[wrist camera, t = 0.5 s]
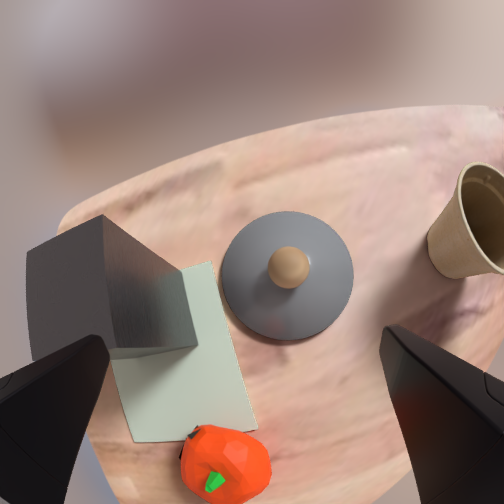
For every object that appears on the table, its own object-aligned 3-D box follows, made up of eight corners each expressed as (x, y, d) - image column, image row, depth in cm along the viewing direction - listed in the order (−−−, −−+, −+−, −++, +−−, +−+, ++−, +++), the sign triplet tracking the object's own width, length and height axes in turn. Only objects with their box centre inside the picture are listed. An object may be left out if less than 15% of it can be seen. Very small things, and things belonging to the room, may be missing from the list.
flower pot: (471, 310, 19) (530, 294, 11) (401, 273, 21) (451, 240, 13) (484, 231, 21) (530, 196, 13) (421, 192, 24) (459, 142, 15)
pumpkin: (198, 480, 18) (167, 514, 12) (191, 411, 20) (152, 437, 14) (274, 490, 16) (260, 533, 10) (275, 418, 18) (260, 456, 12)
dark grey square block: (198, 344, 21) (116, 347, 10) (133, 358, 21) (32, 360, 10) (181, 272, 23) (102, 214, 12) (121, 290, 23) (26, 252, 12)
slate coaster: (368, 314, 21) (370, 314, 20) (242, 355, 21) (241, 356, 20) (325, 200, 24) (326, 197, 24) (210, 234, 24) (209, 232, 24)
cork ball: (312, 284, 22) (317, 276, 18) (275, 296, 22) (274, 289, 19) (300, 249, 23) (303, 235, 20) (263, 260, 23) (261, 247, 20)
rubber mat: (258, 427, 19) (257, 429, 18) (136, 441, 19) (134, 442, 19) (211, 261, 24) (210, 260, 23) (102, 295, 24) (99, 294, 23)
